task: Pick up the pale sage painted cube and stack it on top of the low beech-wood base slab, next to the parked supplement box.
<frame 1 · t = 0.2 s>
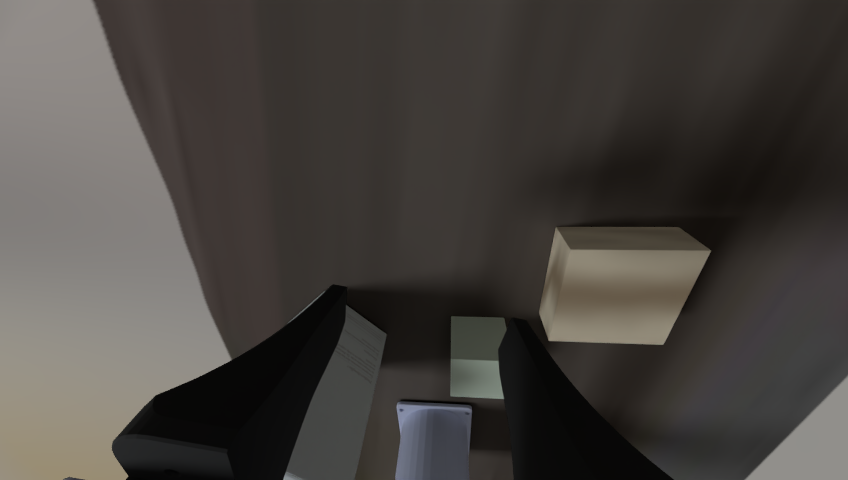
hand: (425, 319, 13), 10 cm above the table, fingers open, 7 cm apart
sage cube: (476, 334, 27), on the table
beech base: (601, 274, 23), on the table
supplement box: (335, 329, 29), on the table
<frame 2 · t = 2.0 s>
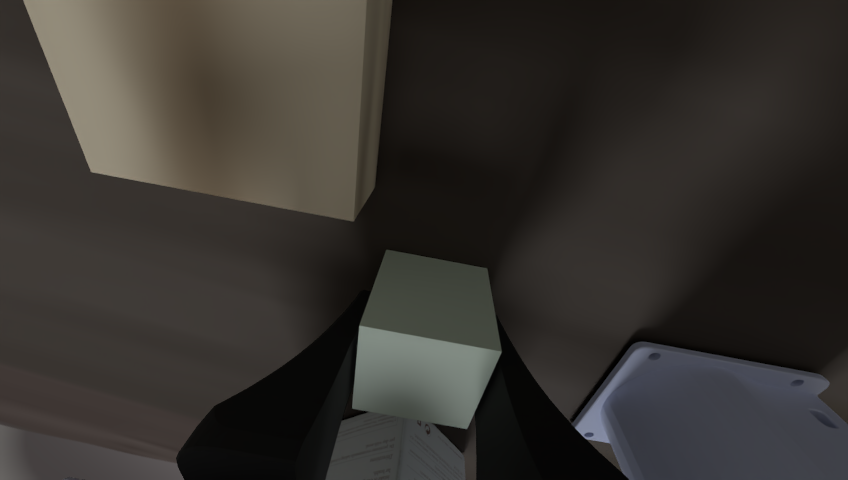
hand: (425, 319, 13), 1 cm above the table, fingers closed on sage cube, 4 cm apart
sage cube: (427, 297, 14), on the table, touching gripper
beech base: (263, 48, 10), on the table
supplement box: (395, 436, 21), on the table
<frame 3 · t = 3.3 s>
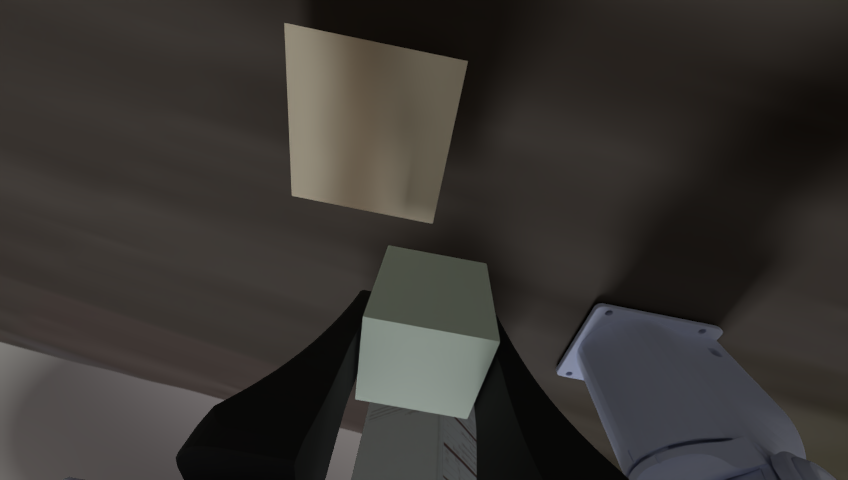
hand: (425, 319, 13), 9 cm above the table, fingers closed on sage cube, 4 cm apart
sage cube: (428, 292, 15), point 7 cm above the table, touching gripper
beech base: (381, 126, 18), on the table
supplement box: (429, 380, 29), on the table
when the fingers open (5 cm above the table, at t = 4.8 s): sage cube stays where it is, resting on beech base.
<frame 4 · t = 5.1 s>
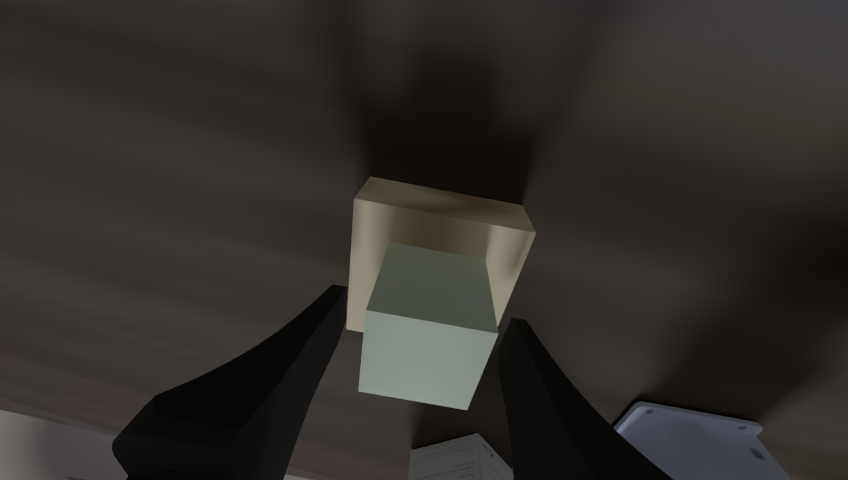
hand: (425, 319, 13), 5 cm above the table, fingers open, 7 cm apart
sage cube: (429, 288, 15), point 3 cm above the table, touching beech base
beech base: (432, 254, 18), on the table
supplement box: (462, 456, 29), on the table
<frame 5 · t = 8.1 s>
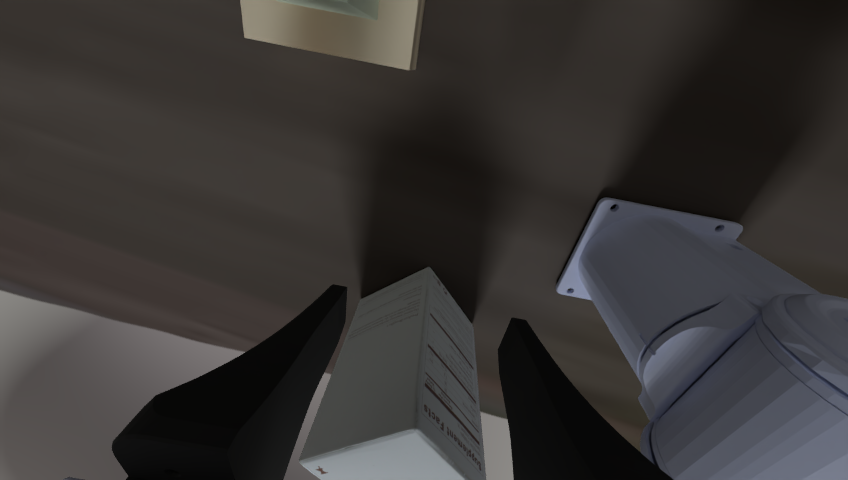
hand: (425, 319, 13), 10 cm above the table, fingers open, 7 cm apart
supplement box: (417, 309, 27), on the table
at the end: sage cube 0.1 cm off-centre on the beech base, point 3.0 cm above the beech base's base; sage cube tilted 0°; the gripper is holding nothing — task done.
